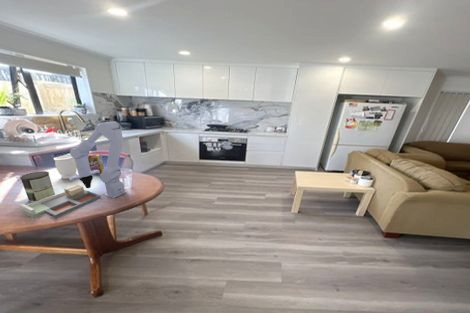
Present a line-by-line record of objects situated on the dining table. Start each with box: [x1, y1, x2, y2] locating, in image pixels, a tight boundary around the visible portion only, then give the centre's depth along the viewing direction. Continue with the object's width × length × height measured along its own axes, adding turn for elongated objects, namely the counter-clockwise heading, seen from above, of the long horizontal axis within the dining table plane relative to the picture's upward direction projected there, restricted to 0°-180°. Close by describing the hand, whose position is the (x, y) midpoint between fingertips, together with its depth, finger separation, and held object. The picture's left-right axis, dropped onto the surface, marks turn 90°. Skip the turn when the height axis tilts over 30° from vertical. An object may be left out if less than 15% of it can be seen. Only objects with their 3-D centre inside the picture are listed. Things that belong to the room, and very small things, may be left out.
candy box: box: [88, 153, 105, 175], centre depth 127 cm, size 9×4×15 cm, turn 98°
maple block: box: [63, 184, 85, 197], centre depth 97 cm, size 6×6×4 cm
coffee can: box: [19, 170, 56, 203], centre depth 94 cm, size 10×10×14 cm
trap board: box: [19, 189, 102, 220], centre depth 90 cm, size 20×24×4 cm
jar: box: [53, 154, 78, 180], centre depth 121 cm, size 11×10×15 cm
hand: (88, 187), depth 103 cm, fingers closed
